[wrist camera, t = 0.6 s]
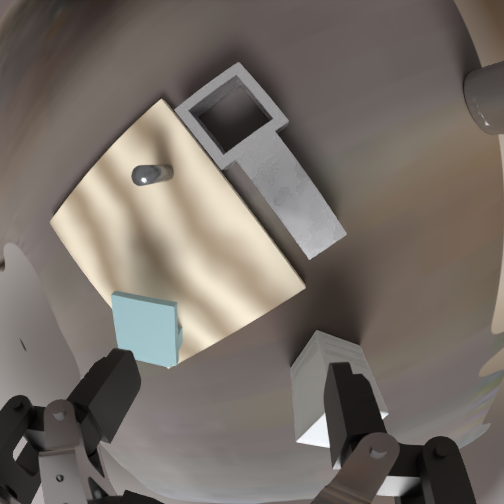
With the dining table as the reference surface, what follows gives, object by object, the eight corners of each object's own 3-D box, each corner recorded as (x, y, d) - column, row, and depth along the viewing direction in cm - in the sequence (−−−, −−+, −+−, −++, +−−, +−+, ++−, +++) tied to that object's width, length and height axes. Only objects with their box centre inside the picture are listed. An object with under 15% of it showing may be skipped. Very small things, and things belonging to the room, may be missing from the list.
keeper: (139, 269, 33) (110, 294, 26) (193, 277, 33) (174, 306, 25) (143, 329, 35) (120, 361, 28) (192, 338, 35) (176, 375, 28)
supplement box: (288, 368, 36) (292, 442, 24) (316, 327, 34) (333, 400, 22) (332, 382, 36) (348, 452, 24) (362, 345, 34) (391, 413, 22)
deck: (165, 100, 27) (161, 98, 26) (304, 283, 32) (305, 287, 31) (55, 220, 32) (49, 222, 30) (170, 363, 37) (168, 368, 36)
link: (186, 116, 27) (174, 109, 23) (242, 74, 25) (238, 61, 22) (292, 256, 31) (295, 269, 27) (349, 217, 29) (360, 224, 26)
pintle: (171, 161, 29) (141, 160, 22) (180, 173, 29) (153, 176, 22) (159, 171, 29) (127, 174, 22) (168, 183, 30) (139, 190, 22)
